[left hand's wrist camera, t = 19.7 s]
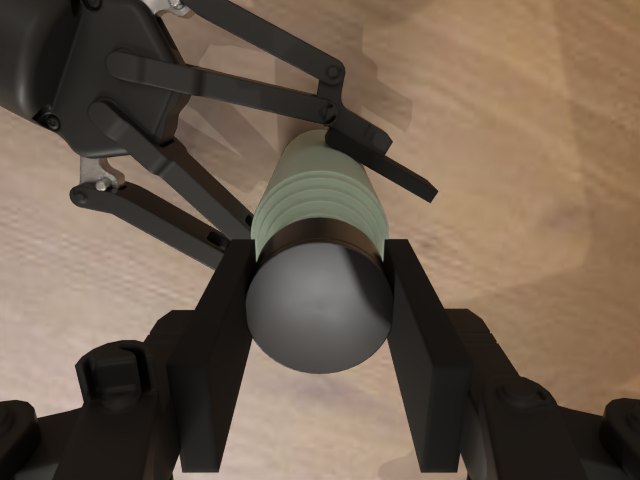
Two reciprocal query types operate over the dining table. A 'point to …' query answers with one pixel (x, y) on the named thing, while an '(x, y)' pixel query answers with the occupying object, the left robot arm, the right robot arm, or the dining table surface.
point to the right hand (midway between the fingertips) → (396, 237)
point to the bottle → (318, 192)
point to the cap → (319, 297)
